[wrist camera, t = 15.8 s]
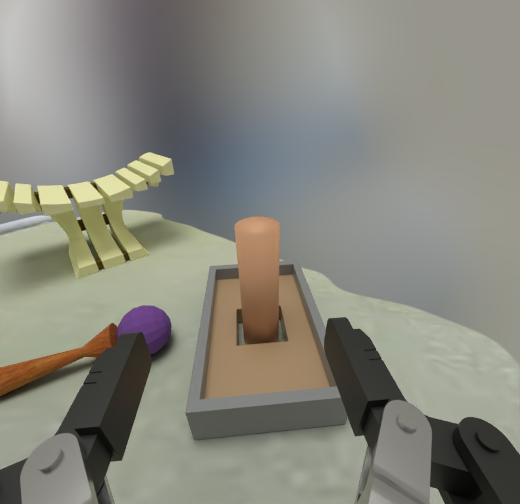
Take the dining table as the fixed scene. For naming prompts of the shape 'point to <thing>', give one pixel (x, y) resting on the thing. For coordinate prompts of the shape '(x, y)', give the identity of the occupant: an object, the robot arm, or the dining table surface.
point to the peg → (259, 277)
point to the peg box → (260, 364)
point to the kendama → (92, 347)
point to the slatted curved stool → (92, 211)
